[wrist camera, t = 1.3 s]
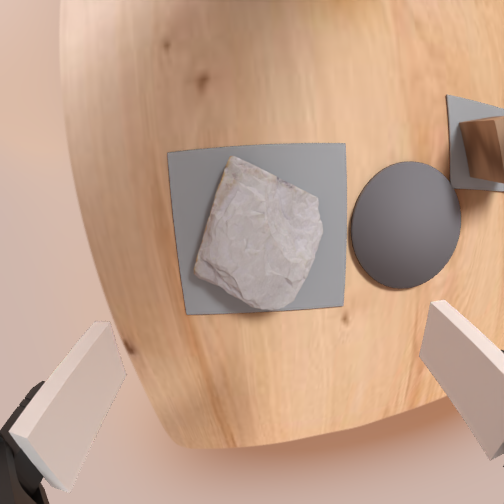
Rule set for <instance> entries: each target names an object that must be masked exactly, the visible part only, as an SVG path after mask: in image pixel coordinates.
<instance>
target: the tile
mask: <svg viewBox="0 0 504 504" xmlns="http://www.w3.org/2000/svg"><path fill="white" fill-rule="evenodd" d="M446 98H447V109H448V122H449V141H450V184H451V185H452V187H453V188H456V189H475V190H491V191H504V184H503V183H498V182H494V181H488V180H483V179H478V178H472V177H470V173H469V167H468V162H467V157H466V152H465V147H464V142H463V138H462V134H461V130H460V126H459V122H464V121H470V120H476V119H482V118H488V117H496V116H504V109H502V108H498V107H495V106H492V105H488V104H484V103H481V102H477V101H473V100H469V99H465V98H460V97H456V96H451V95H446Z"/></svg>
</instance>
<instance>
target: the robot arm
mask: <svg viewBox="0 0 504 504" xmlns="http://www.w3.org/2000/svg"><path fill="white" fill-rule="evenodd" d="M419 357H420V358H421V360H422V361H423V362H424V364H425V365H426V366H427V368H428V369H429V371H430V372H431V373H432V375H433V376H434V377H435V379H436V380H437V382H438V383H439V384H440V386H441V387H442V389H443V390H444V392H445V393H446V394H447V396H448V397H449V399H450V400H451V402H452V403H453V404H454V406H455V407H456V409H457V410H458V412H459V413H460V415H461V416H462V418H463V419H464V421H465V422H466V424H467V425H468V427H469V428H470V430H471V431H472V433H473V434H474V436H475V437H476V439H477V441H478V442H479V444H480V445H481V447H482V449H483V450H484V452H485V453H486V455H487V457H488V458H489V460H492V459H494V458H496V457H498V456H500V455H502V454H504V351H503V350H500V349H499V348H498V347H497V346H495V345H494V344H493V343H492V342H491V341H490V340H489V339H488V338H487V337H486V336H485V335H484V334H483V333H482V332H480V331H479V330H478V329H477V328H476V327H475V326H474V325H473V324H472V323H470V322H469V321H468V320H467V319H466V318H465V317H464V316H463V315H461V314H460V313H459V312H458V311H457V310H456V309H455V308H453V307H452V306H451V305H450V304H449V303H448V302H446V301H445V300H440V301H434V302H430V307H429V312H428V318H427V322H426V327H425V332H424V336H423V341H422V345H421V349H420V353H419ZM125 377H126V372H125V369H124V366H123V363H122V360H121V356H120V353H119V350H118V347H117V343H116V340H115V337H114V334H113V329H112V326H111V322H104V321H95V322H94V323H93V324H92V325H91V326H90V327H89V329H88V330H87V331H86V332H85V333H84V335H83V336H82V337H81V338H80V339H79V340H78V342H77V343H76V344H75V345H74V347H73V348H72V349H71V350H70V352H69V353H68V354H67V355H66V356H65V358H64V359H63V360H62V361H61V362H60V364H59V365H58V367H57V368H56V369H55V370H54V371H53V373H52V374H51V375H50V376H49V378H48V379H47V380H46V381H42V382H40V383H39V384H37V385H36V386H35V387H33V388H32V389H31V390H30V392H29V393H28V394H27V395H26V397H25V399H23V401H22V402H21V403H20V406H19V407H17V409H16V410H15V411H14V412H13V414H12V415H11V416H10V418H9V419H8V420H7V422H6V423H5V425H4V426H3V427H2V429H1V430H0V504H49V502H48V499H47V496H46V493H45V489H44V488H43V486H42V484H41V483H40V482H41V481H42V478H43V477H44V478H45V479H46V480H47V482H48V483H49V484H50V485H51V486H52V487H54V488H57V489H60V490H63V491H66V492H69V493H71V490H72V488H73V486H74V483H75V481H76V479H77V476H78V475H79V472H80V470H81V468H82V465H83V463H84V461H85V459H86V457H87V454H88V452H89V450H90V448H91V446H92V444H93V442H94V440H95V437H96V436H97V433H98V431H99V429H100V427H101V425H102V423H103V421H104V419H105V417H106V415H107V413H108V411H109V409H110V406H111V405H112V403H113V401H114V399H115V397H116V395H117V393H118V391H119V389H120V387H121V385H122V383H123V381H124V379H125ZM503 467H504V466H503Z"/></svg>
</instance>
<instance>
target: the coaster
mask: <svg viewBox="0 0 504 504" xmlns="http://www.w3.org/2000/svg"><path fill="white" fill-rule="evenodd" d="M460 228H461V211H460V205H459V201H458V198H457V195H456V193H455V191H454V189H453V187H452V185H451V184H450V182H449V181H448V180H447V178H446V177H445V176H444V175H443V174H442V173H441V172H439V171H438V170H436V169H435V168H433V167H431V166H429V165H427V164H423V163H419V162H400V163H396V164H393V165H390V166H388V167H386V168H384V169H382V170H381V171H380V172H378V173H377V174H376V175H375V176H374V177H373V178H372V179H370V181H369V182H368V183H367V184H366V186H365V187H364V188H363V190H362V192H361V193H360V195H359V197H358V200H357V202H356V205H355V208H354V211H353V216H352V223H351V238H352V244H353V248H354V251H355V254H356V256H357V259H358V261H359V262H360V264H361V266H362V267H363V268H364V270H365V271H366V272H367V273H368V274H369V275H370V276H371V277H372V278H373V279H374V280H376V281H378V282H379V283H381V284H383V285H385V286H388V287H392V288H411V287H415V286H418V285H421V284H423V283H425V282H427V281H428V280H430V279H431V278H433V277H434V276H435V275H437V274H438V273H439V272H440V271H441V270H442V269H443V268H444V266H445V265H446V264H447V262H448V261H449V259H450V258H451V256H452V254H453V252H454V250H455V248H456V245H457V242H458V239H459V235H460Z"/></svg>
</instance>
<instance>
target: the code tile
mask: <svg viewBox="0 0 504 504" xmlns="http://www.w3.org/2000/svg"><path fill="white" fill-rule="evenodd" d="M167 154H168V167H169V179H170V190H171V200H172V210H173V219H174V228H175V236H176V245H177V252H178V260H179V267H180V275H181V281H182V288H183V295H184V301H185V308H186V314H187V315H197V314H228V313H250V312H269V311H285V310H299V309H313V308H325V307H337V306H343V304H344V288H345V269H346V239H347V174H346V144H345V143H293V144H265V145H246V146H231V147H218V148H207V149H196V150H187V151H178V152H170V153H167ZM230 156H235V157H238V158H240V159H242V160H244V161H246V162H248V163H251V164H253V165H255V166H257V167H259V168H261V169H262V170H265V171H267V172H269V173H271V174H273V175H275V176H277V177H278V178H280V179H282V180H284V181H286V182H288V183H290V184H292V185H294V186H296V187H298V188H300V189H302V190H304V191H306V192H308V193H310V194H312V195H314V196H315V197H317V198H318V201H319V206H318V211H319V214H320V220H321V222H322V225H323V235H322V237H321V240H320V242H319V246H318V250H317V251H316V253H315V259H314V262H313V264H312V266H311V269H310V270H309V274H308V276H307V278H306V280H305V281H304V283H303V284H302V286H301V288H300V290H299V292H298V293H297V295H296V297H295V300H294V301H293V302H291V303H289V304H288V305H286V306H285V307H283V308H280V309H277V310H268V309H265V310H262V309H259V308H254V307H251V306H250V305H248V304H247V303H245V302H244V301H242V300H241V299H239V298H236V297H234V296H233V295H230V294H228V293H227V292H226V291H225V290H224V289H223V288H222V287H220V286H217V285H215V284H212V283H210V282H207V281H205V280H202V279H199V278H198V277H197V276H196V275H195V274H194V266H195V263H196V259H197V255H198V252H199V249H200V246H201V243H202V240H203V235H204V232H205V228H206V225H207V221H208V218H209V216H210V212H211V209H212V206H213V203H214V199H215V194H216V191H217V189H218V186H219V183H220V181H221V178H222V175H223V172H224V169H225V166H226V164H227V161H228V159H229V157H230Z"/></svg>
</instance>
